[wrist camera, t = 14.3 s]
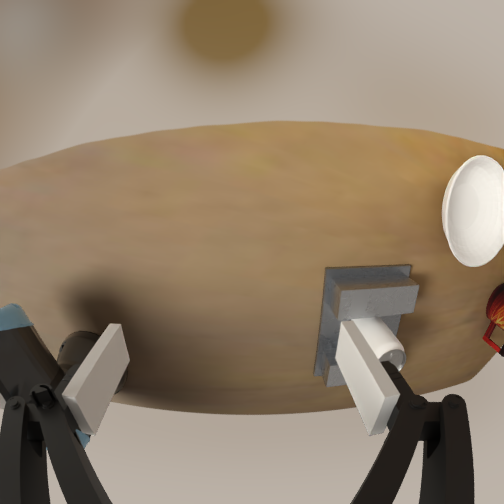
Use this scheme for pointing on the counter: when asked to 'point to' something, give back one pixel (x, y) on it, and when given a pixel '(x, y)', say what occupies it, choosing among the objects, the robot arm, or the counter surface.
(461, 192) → the bowl
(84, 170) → the counter surface
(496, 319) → the mug
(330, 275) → the gray metal fixture
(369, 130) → the counter surface
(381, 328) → the can
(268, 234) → the counter surface
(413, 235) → the counter surface
